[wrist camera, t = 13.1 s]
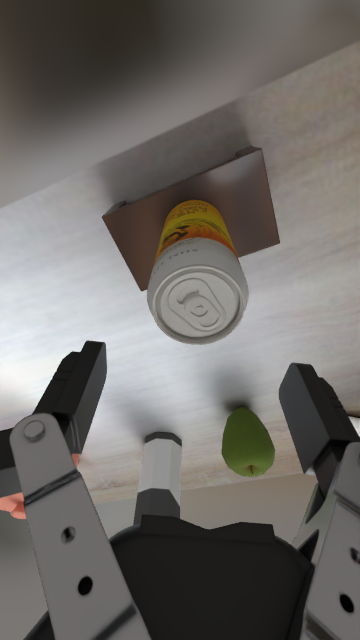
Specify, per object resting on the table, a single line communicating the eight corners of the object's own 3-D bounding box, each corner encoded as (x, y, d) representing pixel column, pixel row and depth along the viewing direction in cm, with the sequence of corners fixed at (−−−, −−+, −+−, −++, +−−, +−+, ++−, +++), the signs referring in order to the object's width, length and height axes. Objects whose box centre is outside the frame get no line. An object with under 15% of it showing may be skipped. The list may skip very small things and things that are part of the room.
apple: (212, 401, 51) (217, 464, 41) (258, 391, 49) (275, 455, 39) (224, 429, 55) (231, 491, 46) (267, 421, 53) (284, 484, 44)
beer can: (199, 183, 26) (209, 234, 13) (236, 234, 28) (272, 316, 16) (151, 225, 28) (122, 302, 16) (189, 269, 31) (189, 364, 18)
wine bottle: (138, 434, 57) (99, 669, 32) (176, 428, 55) (165, 670, 31) (151, 455, 61) (125, 677, 36) (186, 450, 60) (185, 677, 35)
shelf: (251, 145, 28) (261, 148, 24) (268, 229, 33) (280, 243, 29) (112, 205, 32) (101, 217, 28) (146, 273, 36) (141, 291, 32)
